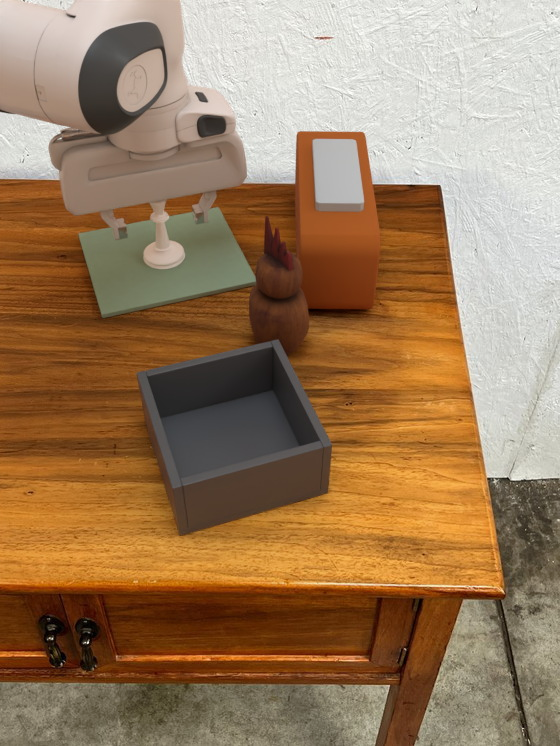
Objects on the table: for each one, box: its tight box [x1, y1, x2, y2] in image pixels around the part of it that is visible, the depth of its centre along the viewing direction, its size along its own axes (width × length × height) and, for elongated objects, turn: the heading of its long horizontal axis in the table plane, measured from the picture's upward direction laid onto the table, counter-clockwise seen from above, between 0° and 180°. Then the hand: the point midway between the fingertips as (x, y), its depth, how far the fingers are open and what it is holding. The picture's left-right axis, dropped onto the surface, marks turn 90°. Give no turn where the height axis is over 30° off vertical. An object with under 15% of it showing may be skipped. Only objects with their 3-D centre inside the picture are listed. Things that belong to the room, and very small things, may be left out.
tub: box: [136, 339, 333, 537], centre depth 70 cm, size 14×14×7 cm
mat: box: [77, 206, 256, 319], centre depth 92 cm, size 18×16×1 cm
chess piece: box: [143, 199, 185, 269], centre depth 89 cm, size 5×5×10 cm
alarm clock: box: [294, 130, 382, 310], centre depth 90 cm, size 24×8×11 cm, turn 0°
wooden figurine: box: [248, 215, 310, 356], centre depth 77 cm, size 7×6×15 cm
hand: (161, 228), depth 89 cm, fingers open, 8 cm apart
